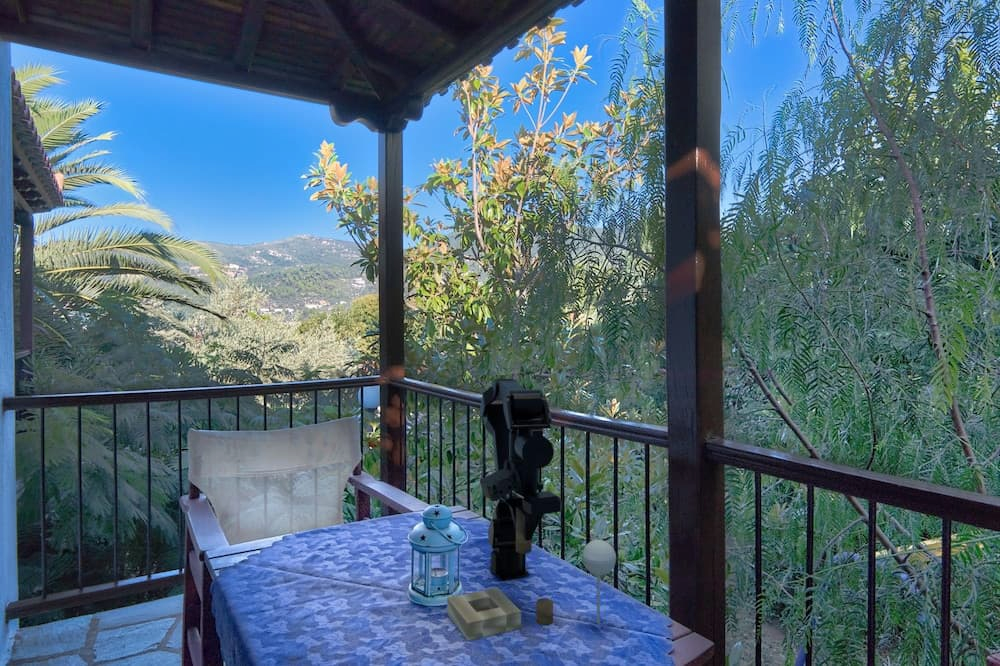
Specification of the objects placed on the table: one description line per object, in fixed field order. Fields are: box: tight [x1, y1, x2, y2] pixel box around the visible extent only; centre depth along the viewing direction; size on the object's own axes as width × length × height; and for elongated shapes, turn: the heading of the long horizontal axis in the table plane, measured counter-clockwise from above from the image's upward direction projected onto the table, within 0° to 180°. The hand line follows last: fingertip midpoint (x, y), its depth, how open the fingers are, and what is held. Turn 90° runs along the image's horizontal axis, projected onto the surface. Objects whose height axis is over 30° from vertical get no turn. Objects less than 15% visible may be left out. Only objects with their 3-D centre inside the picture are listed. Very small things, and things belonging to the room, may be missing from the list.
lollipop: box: [581, 539, 617, 626], centre depth 108 cm, size 6×6×15 cm
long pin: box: [516, 509, 533, 555], centre depth 116 cm, size 3×3×8 cm
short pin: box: [535, 597, 554, 626], centre depth 109 cm, size 3×3×4 cm
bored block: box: [446, 587, 522, 642], centre depth 109 cm, size 10×10×3 cm
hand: (523, 537), depth 117 cm, fingers closed on long pin, 3 cm apart
